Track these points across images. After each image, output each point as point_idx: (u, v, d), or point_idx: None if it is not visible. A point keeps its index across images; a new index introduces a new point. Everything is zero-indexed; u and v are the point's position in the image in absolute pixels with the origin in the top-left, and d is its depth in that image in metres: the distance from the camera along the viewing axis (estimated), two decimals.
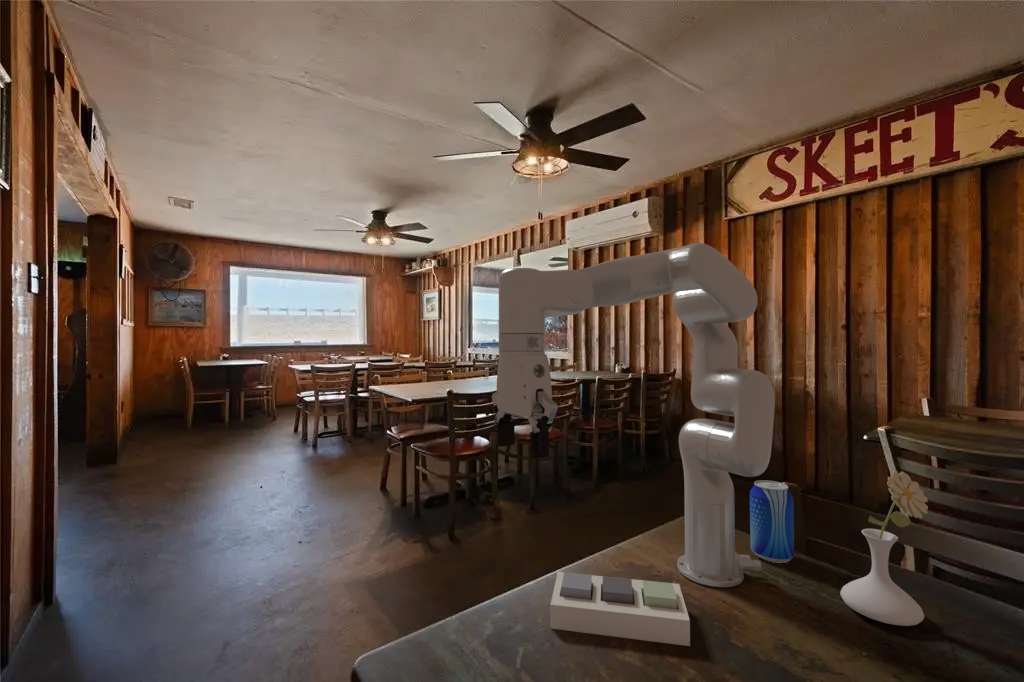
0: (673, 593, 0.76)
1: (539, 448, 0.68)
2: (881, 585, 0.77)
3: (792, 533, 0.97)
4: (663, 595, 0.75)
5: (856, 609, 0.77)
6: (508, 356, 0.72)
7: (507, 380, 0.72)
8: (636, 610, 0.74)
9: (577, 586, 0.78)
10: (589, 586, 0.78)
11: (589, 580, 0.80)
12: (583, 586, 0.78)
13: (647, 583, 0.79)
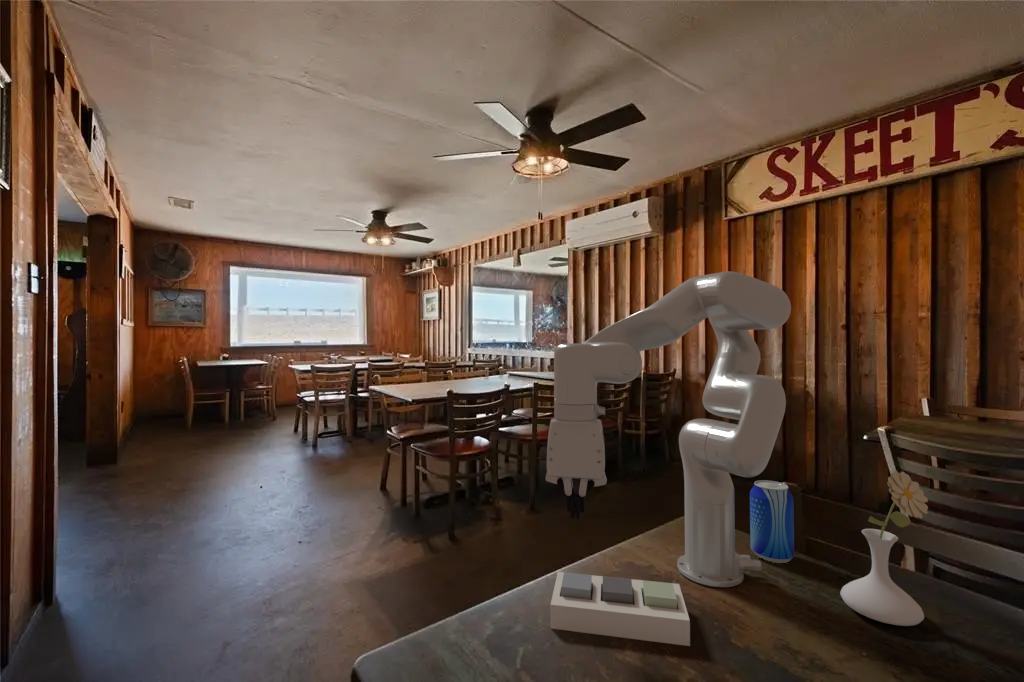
0: (673, 593, 0.76)
1: (584, 508, 0.79)
2: (881, 585, 0.77)
3: (792, 533, 0.97)
4: (663, 595, 0.75)
5: (856, 609, 0.77)
6: (574, 425, 0.78)
7: (572, 447, 0.78)
8: (636, 610, 0.74)
9: (577, 586, 0.78)
10: (589, 586, 0.78)
11: (589, 580, 0.80)
12: (583, 586, 0.78)
13: (647, 583, 0.79)
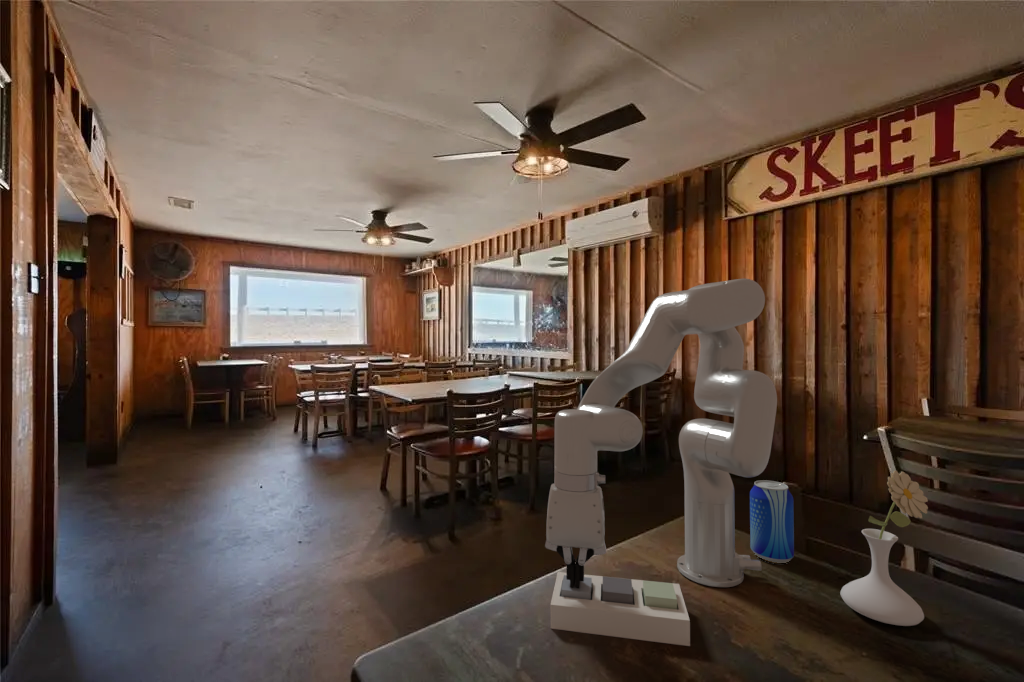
0: (673, 593, 0.76)
1: (583, 577, 0.79)
2: (881, 585, 0.77)
3: (792, 533, 0.97)
4: (663, 595, 0.75)
5: (856, 609, 0.77)
6: (574, 494, 0.77)
7: (572, 516, 0.78)
8: (636, 610, 0.74)
9: (577, 588, 0.78)
10: (589, 589, 0.78)
11: (589, 583, 0.80)
12: (583, 589, 0.78)
13: (647, 583, 0.79)
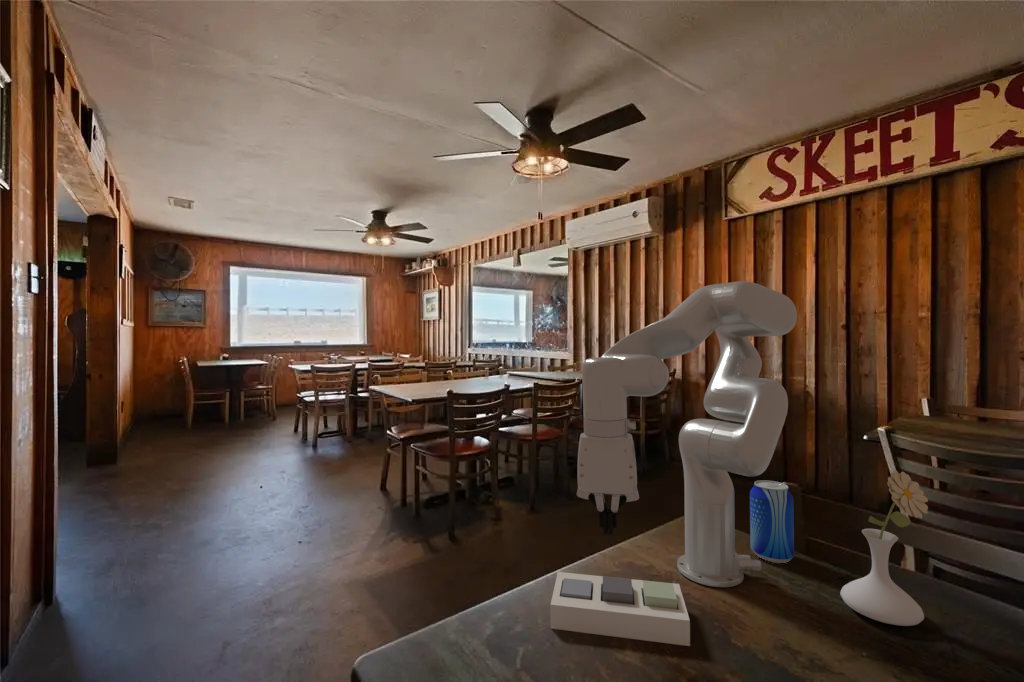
0: (673, 593, 0.76)
1: (616, 524, 0.78)
2: (881, 585, 0.77)
3: (792, 533, 0.97)
4: (663, 595, 0.75)
5: (856, 609, 0.77)
6: (604, 440, 0.77)
7: (603, 463, 0.77)
8: (636, 610, 0.74)
9: (577, 592, 0.78)
10: (589, 592, 0.78)
11: (589, 586, 0.80)
12: (583, 592, 0.78)
13: (647, 583, 0.79)
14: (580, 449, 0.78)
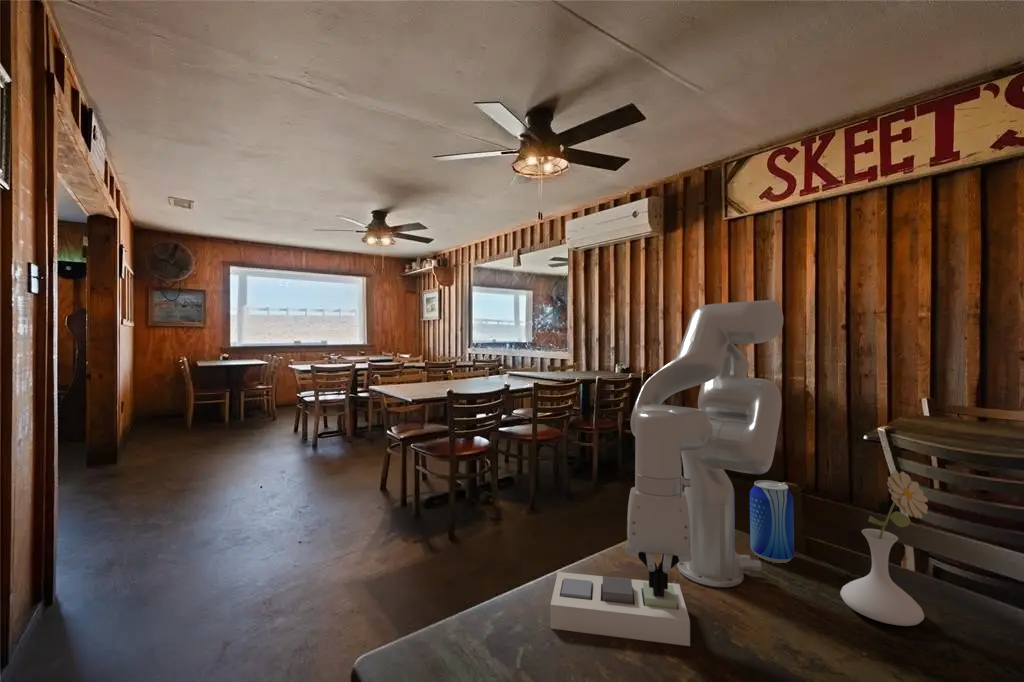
0: (673, 595, 0.76)
1: (667, 585, 0.76)
2: (881, 585, 0.77)
3: (792, 533, 0.97)
4: (663, 597, 0.75)
5: (856, 609, 0.77)
6: (659, 498, 0.74)
7: (657, 522, 0.75)
8: (636, 610, 0.74)
9: (577, 592, 0.78)
10: (589, 592, 0.78)
11: (589, 586, 0.80)
12: (583, 592, 0.78)
13: (647, 585, 0.79)
14: (632, 506, 0.76)
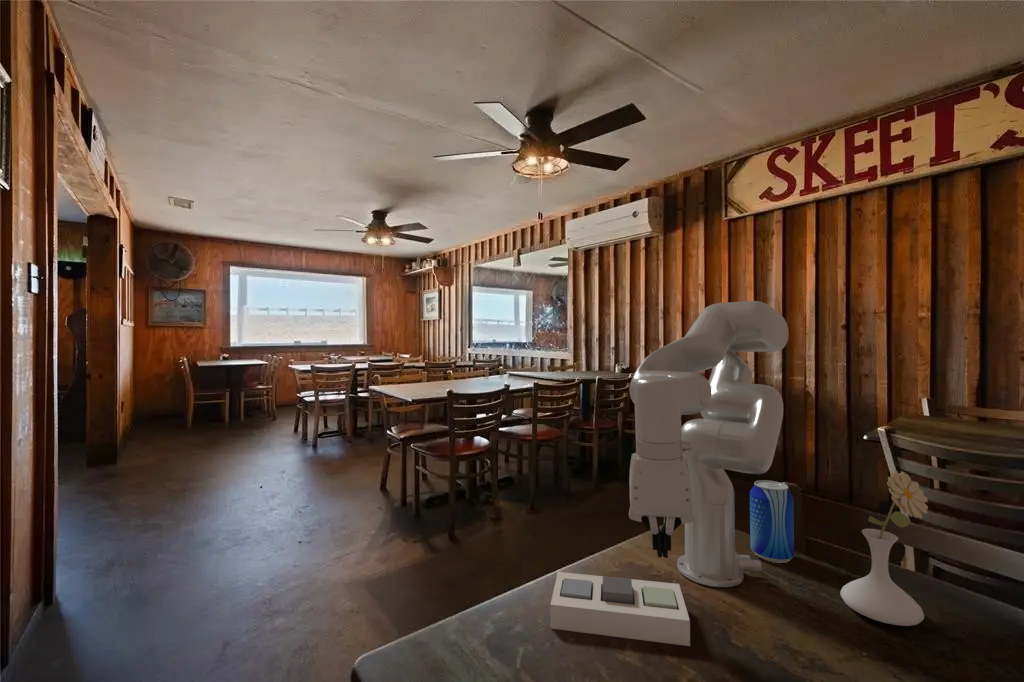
0: (673, 599, 0.76)
1: None
2: (881, 585, 0.77)
3: (792, 533, 0.97)
4: (663, 602, 0.75)
5: (856, 609, 0.77)
6: (660, 463, 0.75)
7: (659, 485, 0.75)
8: (636, 610, 0.74)
9: (577, 592, 0.78)
10: (589, 592, 0.78)
11: (589, 586, 0.80)
12: (583, 592, 0.78)
13: (647, 589, 0.79)
14: (634, 471, 0.76)
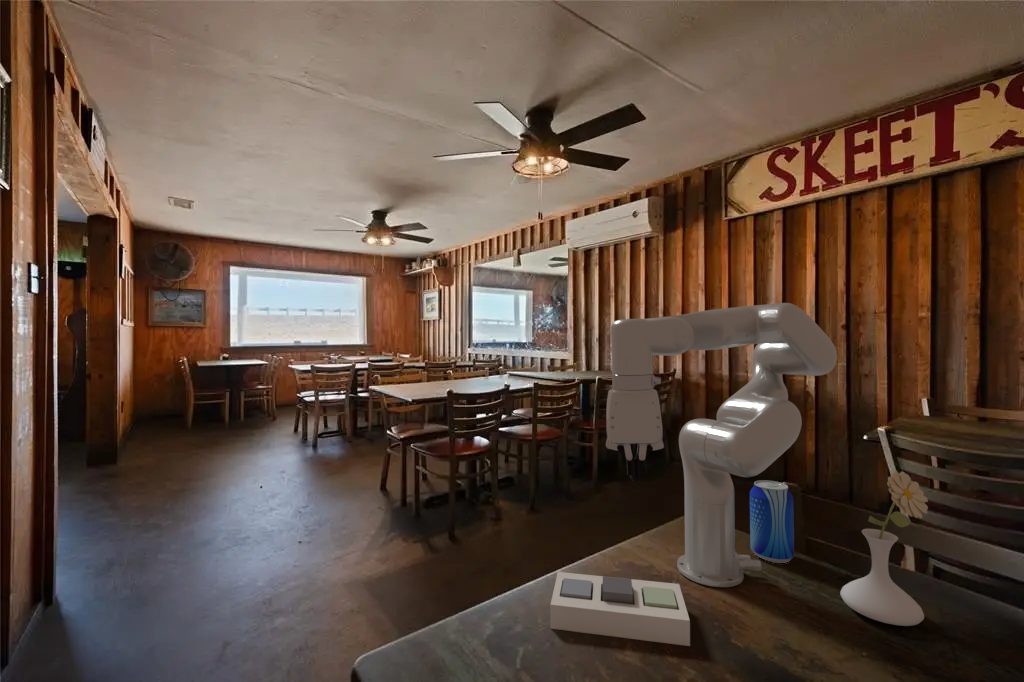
0: (673, 599, 0.76)
1: (643, 471, 0.85)
2: (881, 585, 0.77)
3: (792, 533, 0.97)
4: (663, 602, 0.75)
5: (856, 609, 0.77)
6: (634, 394, 0.84)
7: (633, 415, 0.84)
8: (636, 610, 0.74)
9: (577, 592, 0.78)
10: (589, 592, 0.78)
11: (589, 586, 0.80)
12: (583, 592, 0.78)
13: (647, 589, 0.79)
14: (611, 403, 0.85)
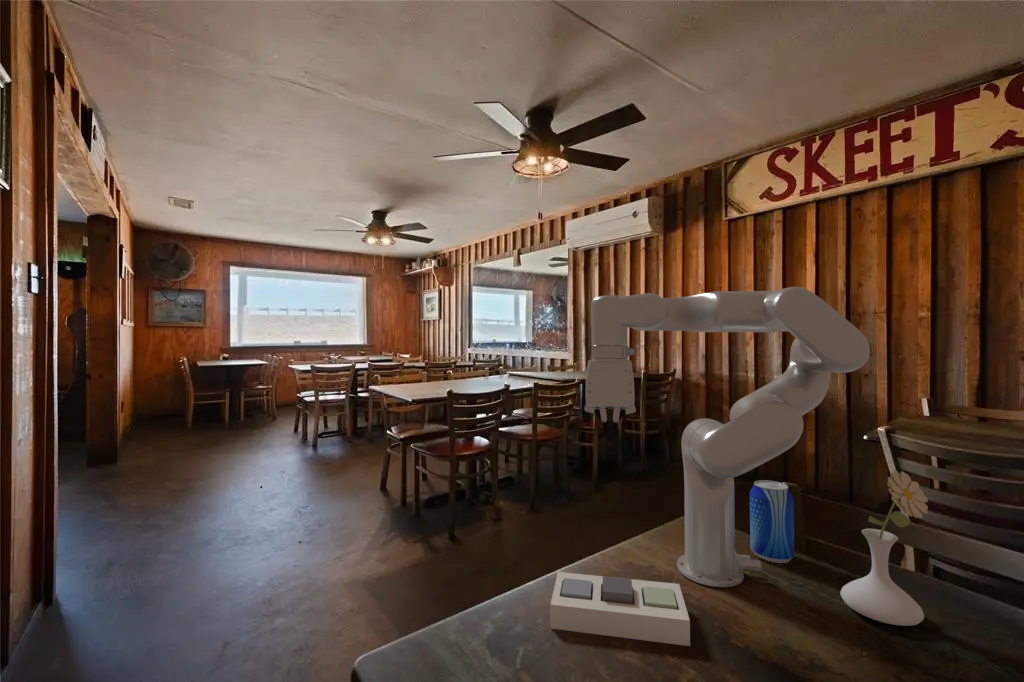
0: (673, 599, 0.76)
1: None
2: (881, 585, 0.77)
3: (792, 533, 0.97)
4: (663, 602, 0.75)
5: (856, 609, 0.77)
6: (609, 362, 0.94)
7: (607, 381, 0.94)
8: (636, 610, 0.74)
9: (577, 592, 0.78)
10: (589, 592, 0.78)
11: (589, 586, 0.80)
12: (583, 592, 0.78)
13: (647, 589, 0.79)
14: (588, 370, 0.95)
